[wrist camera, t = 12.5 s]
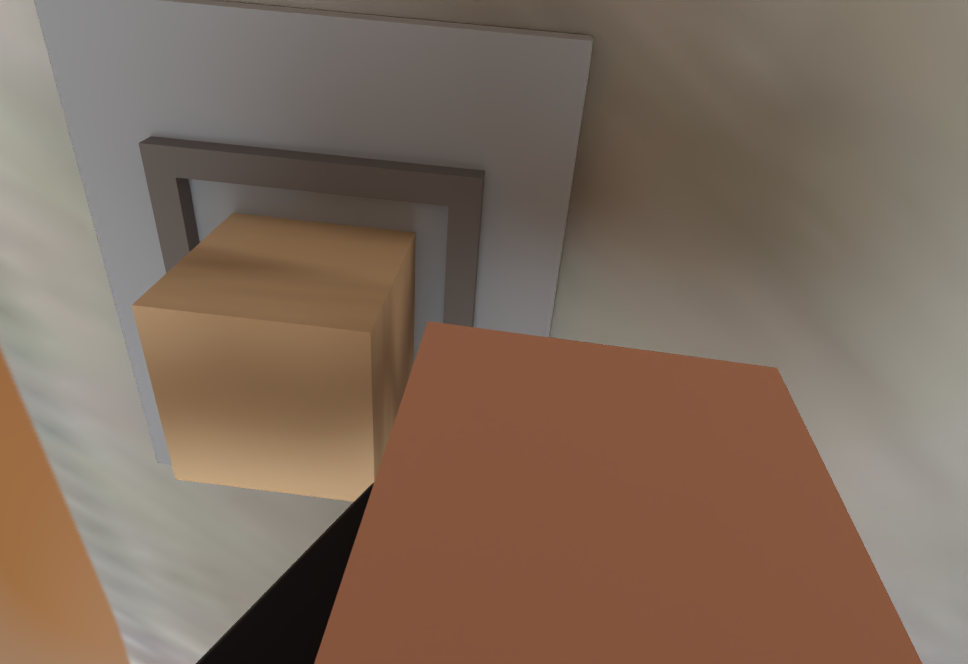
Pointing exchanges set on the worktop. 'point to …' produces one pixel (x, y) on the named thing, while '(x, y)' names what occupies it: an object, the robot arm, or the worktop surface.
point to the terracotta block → (603, 518)
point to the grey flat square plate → (323, 144)
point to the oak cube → (282, 353)
